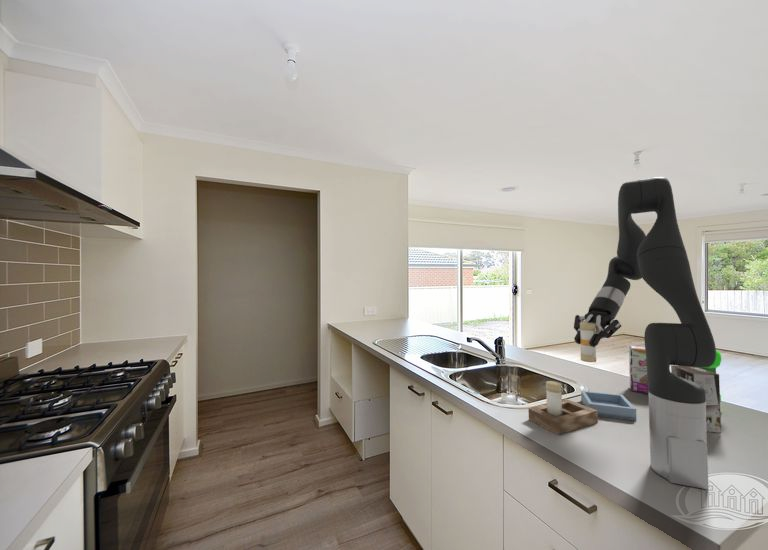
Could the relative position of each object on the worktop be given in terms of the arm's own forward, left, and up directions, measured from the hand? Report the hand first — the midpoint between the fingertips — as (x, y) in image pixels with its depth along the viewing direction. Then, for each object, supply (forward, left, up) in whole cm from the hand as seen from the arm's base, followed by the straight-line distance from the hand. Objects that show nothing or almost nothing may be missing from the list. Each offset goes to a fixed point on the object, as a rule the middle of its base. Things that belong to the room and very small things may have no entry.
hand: (584, 343), depth 97 cm
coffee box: (+3, -28, -23) cm, 36 cm away
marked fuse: (+2, -1, -6) cm, 6 cm away
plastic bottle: (+19, -36, -23) cm, 47 cm away
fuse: (-10, +10, -22) cm, 27 cm away
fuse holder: (-7, +8, -22) cm, 25 cm away
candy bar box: (+29, -26, -23) cm, 45 cm away
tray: (+6, -7, -22) cm, 24 cm away
